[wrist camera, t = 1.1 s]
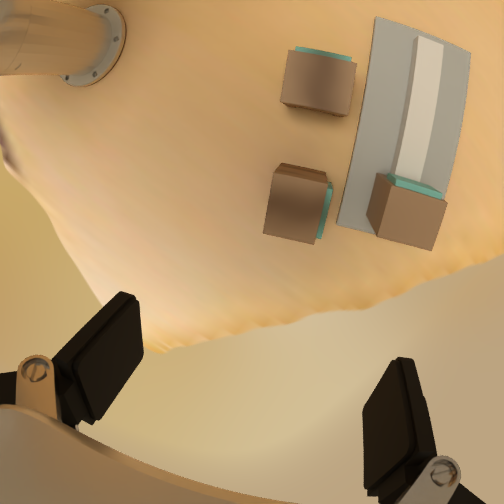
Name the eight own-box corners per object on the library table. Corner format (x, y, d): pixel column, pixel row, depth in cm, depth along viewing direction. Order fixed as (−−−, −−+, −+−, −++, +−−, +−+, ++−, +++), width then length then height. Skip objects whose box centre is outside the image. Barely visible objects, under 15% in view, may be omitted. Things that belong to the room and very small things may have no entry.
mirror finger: (286, 105, 31) (280, 101, 24) (294, 59, 28) (289, 43, 22) (341, 117, 30) (348, 115, 24) (349, 70, 28) (358, 57, 21)
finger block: (319, 223, 35) (319, 246, 29) (272, 212, 36) (262, 233, 30) (330, 173, 33) (334, 185, 26) (281, 162, 33) (273, 172, 27)
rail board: (336, 222, 35) (340, 249, 28) (374, 18, 24) (389, -7, 17) (425, 245, 34) (447, 275, 27) (468, 53, 23) (500, 42, 16)
